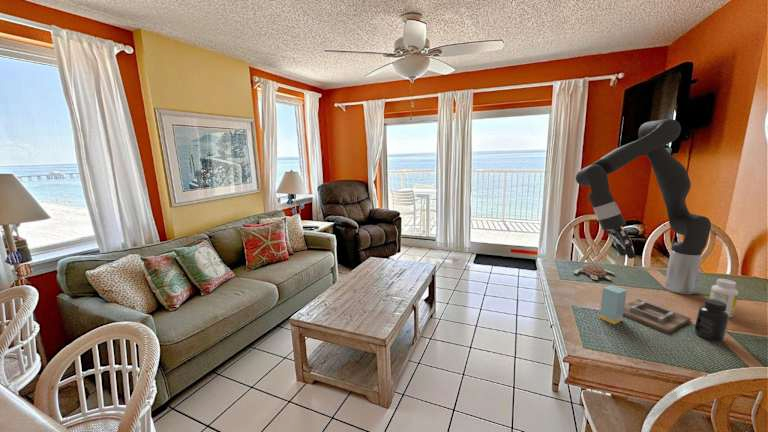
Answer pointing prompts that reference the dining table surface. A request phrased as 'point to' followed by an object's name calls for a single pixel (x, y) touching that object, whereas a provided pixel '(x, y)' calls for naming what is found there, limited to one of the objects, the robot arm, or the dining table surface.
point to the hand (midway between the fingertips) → (628, 256)
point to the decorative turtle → (594, 271)
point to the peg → (612, 304)
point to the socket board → (654, 316)
